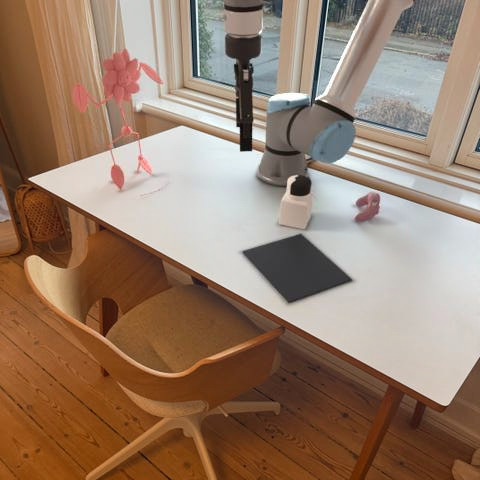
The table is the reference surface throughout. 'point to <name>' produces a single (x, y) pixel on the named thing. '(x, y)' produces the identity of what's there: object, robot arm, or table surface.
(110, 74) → the figurine
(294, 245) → the mat
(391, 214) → the table surface
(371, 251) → the table surface
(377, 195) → the video game controller
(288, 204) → the medicine bottle
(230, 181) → the table surface
